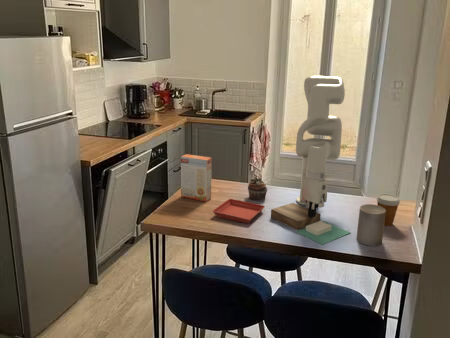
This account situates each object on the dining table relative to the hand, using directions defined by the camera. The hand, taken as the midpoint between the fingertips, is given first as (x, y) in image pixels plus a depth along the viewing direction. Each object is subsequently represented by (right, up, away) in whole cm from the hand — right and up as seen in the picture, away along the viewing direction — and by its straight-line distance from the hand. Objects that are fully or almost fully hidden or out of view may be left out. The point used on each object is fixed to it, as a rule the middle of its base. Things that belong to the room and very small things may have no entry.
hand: (311, 216), depth 181 cm
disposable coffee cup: (+33, -4, +7) cm, 34 cm away
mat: (+4, -6, -4) cm, 8 cm away
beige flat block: (+2, -3, -3) cm, 5 cm away
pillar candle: (+21, -9, -10) cm, 24 cm away
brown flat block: (-6, -2, +8) cm, 10 cm away
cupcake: (-20, +5, +34) cm, 40 cm away
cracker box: (-50, +6, +31) cm, 60 cm away
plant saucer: (-30, -1, +13) cm, 33 cm away
